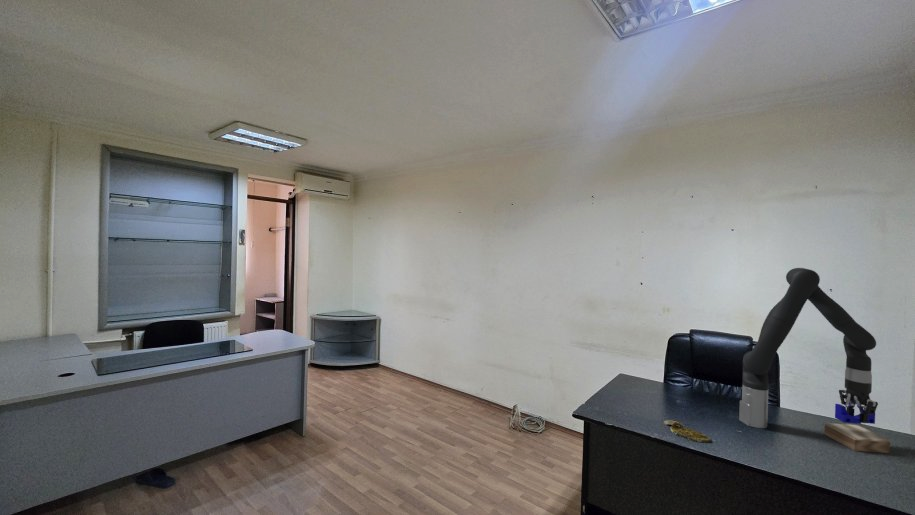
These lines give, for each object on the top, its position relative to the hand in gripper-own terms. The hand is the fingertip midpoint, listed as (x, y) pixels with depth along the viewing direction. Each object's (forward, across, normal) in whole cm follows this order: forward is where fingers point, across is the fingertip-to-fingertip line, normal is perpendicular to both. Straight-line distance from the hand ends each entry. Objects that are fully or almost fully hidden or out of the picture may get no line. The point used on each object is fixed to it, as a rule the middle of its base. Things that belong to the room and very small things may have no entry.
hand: (856, 419), depth 150 cm
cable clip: (+1, 0, 0) cm, 1 cm away
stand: (+10, 0, 0) cm, 10 cm away
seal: (+10, -2, +67) cm, 68 cm away
